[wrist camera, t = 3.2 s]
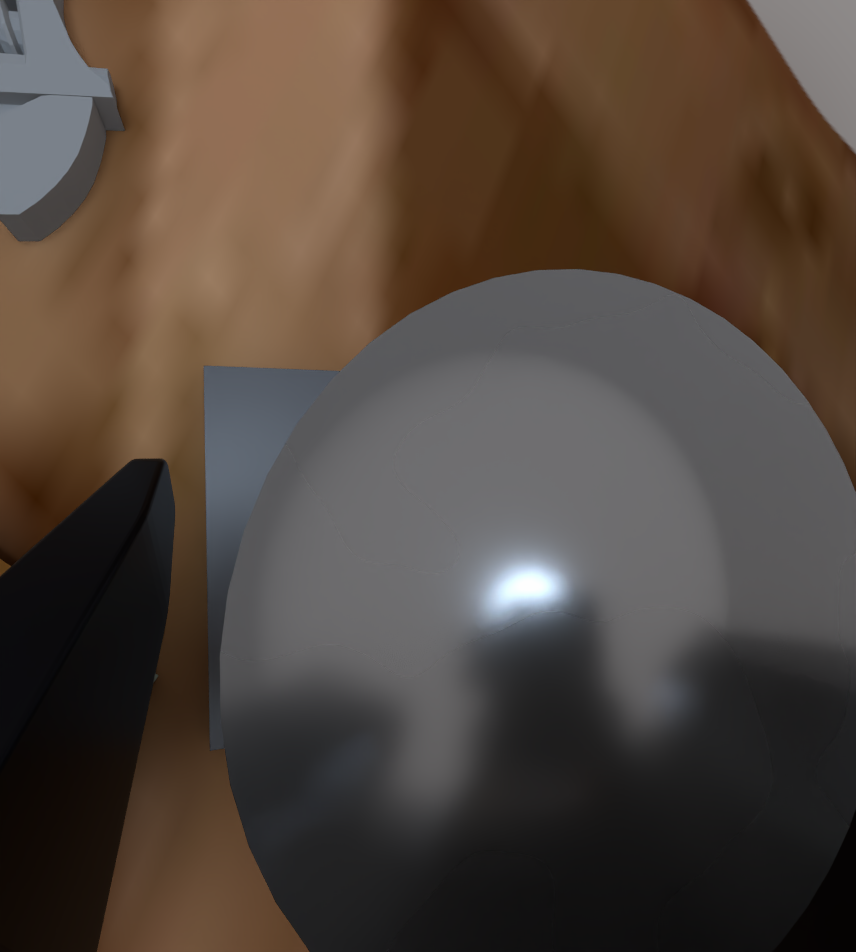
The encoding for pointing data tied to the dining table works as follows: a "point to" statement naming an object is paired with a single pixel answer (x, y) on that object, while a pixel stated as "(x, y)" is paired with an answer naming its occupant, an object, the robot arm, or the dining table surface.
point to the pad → (242, 475)
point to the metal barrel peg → (547, 635)
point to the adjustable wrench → (47, 119)
